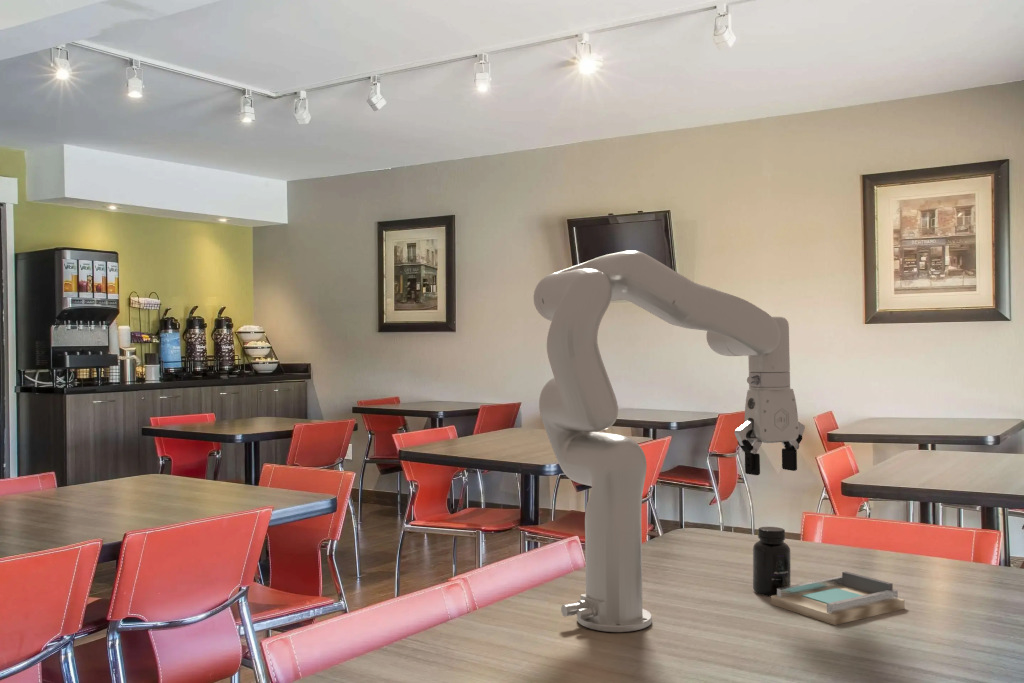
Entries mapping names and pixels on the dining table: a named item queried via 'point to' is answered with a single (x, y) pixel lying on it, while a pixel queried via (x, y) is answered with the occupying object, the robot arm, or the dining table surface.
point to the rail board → (840, 598)
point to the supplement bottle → (771, 561)
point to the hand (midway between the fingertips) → (771, 472)
